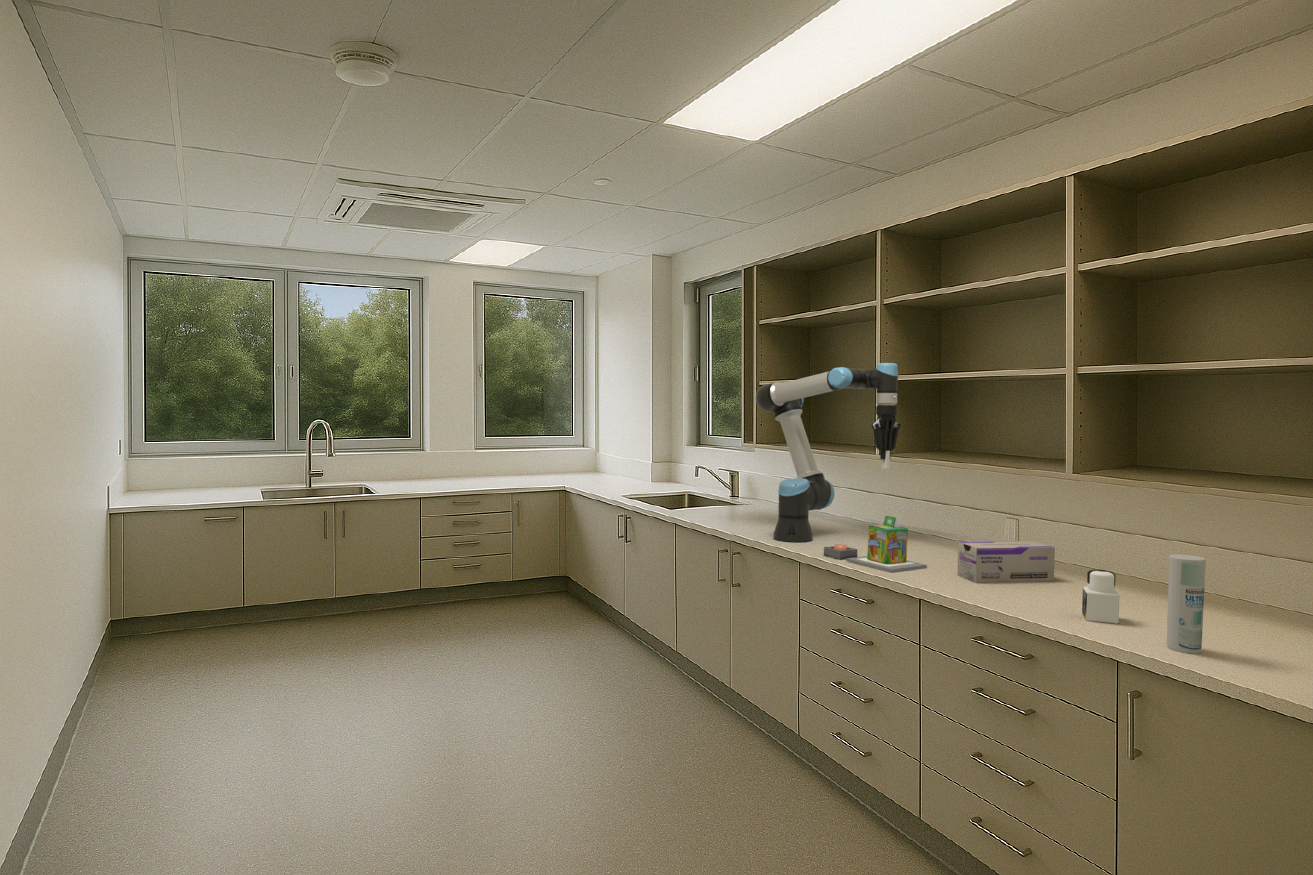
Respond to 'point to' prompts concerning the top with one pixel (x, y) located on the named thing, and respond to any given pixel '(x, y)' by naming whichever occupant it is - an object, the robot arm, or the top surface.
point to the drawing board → (887, 567)
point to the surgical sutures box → (1006, 562)
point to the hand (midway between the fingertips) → (885, 468)
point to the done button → (840, 547)
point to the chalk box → (887, 542)
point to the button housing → (840, 553)
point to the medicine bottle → (1100, 597)
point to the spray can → (1185, 603)
